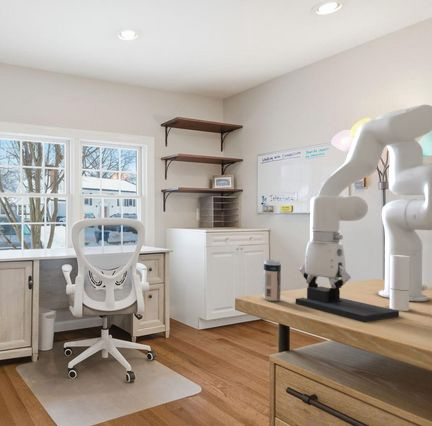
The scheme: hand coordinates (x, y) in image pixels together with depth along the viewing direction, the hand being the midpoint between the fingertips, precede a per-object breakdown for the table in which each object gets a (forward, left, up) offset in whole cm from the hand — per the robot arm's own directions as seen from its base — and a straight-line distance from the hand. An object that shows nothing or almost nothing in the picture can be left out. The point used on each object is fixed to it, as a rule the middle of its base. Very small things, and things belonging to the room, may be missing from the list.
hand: (323, 298), depth 110 cm
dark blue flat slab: (0, +6, -2) cm, 7 cm away
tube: (-16, +11, -2) cm, 20 cm away
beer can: (+10, -10, -2) cm, 14 cm away
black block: (0, 0, -1) cm, 1 cm away
